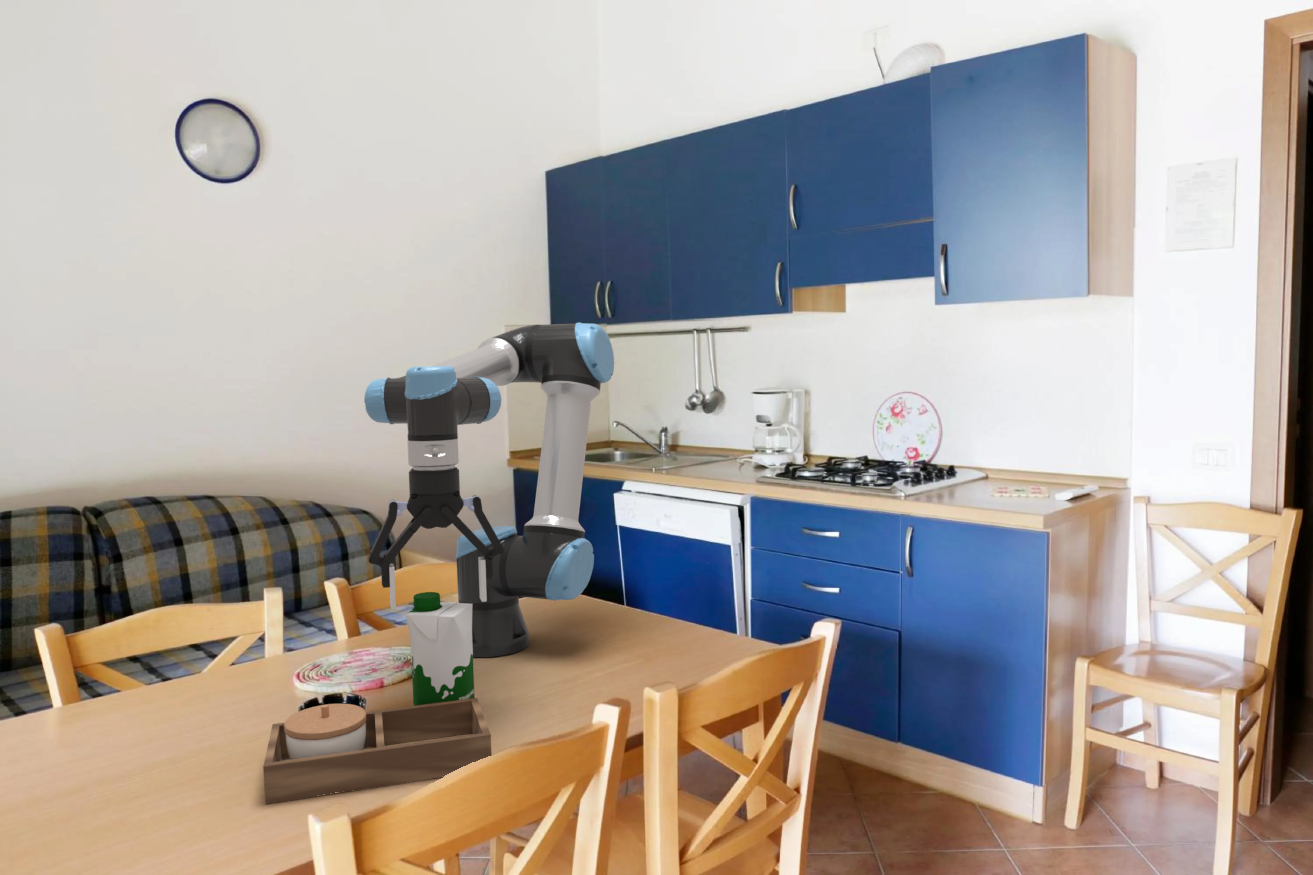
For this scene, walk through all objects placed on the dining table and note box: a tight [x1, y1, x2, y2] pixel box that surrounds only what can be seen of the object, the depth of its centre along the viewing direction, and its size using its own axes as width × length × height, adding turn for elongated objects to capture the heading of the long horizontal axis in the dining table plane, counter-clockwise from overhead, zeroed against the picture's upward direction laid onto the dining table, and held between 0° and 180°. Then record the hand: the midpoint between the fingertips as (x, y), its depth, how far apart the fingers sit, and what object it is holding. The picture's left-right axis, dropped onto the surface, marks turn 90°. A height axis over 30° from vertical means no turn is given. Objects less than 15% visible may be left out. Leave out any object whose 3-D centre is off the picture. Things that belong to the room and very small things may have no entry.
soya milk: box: [405, 591, 475, 706], centre depth 149 cm, size 9×9×20 cm
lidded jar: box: [283, 703, 367, 760], centre depth 132 cm, size 11×11×9 cm
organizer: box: [262, 697, 492, 805], centre depth 134 cm, size 15×29×5 cm, turn 108°
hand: (438, 603), depth 148 cm, fingers open, 13 cm apart
